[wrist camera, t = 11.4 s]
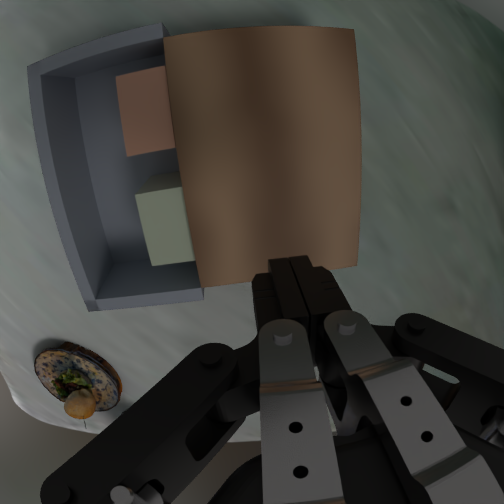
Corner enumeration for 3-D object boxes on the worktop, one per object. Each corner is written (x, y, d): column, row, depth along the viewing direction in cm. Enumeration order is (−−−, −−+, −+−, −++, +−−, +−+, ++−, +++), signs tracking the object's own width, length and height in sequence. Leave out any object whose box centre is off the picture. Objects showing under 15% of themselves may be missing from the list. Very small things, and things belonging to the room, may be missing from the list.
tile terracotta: (165, 65, 15) (115, 76, 15) (175, 147, 17) (127, 156, 17) (176, 73, 19) (136, 81, 19) (184, 138, 21) (144, 145, 21)
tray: (175, 41, 18) (161, 22, 13) (205, 258, 27) (203, 299, 21) (66, 70, 18) (27, 66, 13) (109, 271, 26) (88, 311, 21)
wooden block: (322, 44, 20) (353, 29, 14) (330, 232, 27) (356, 265, 22) (176, 53, 19) (163, 37, 14) (203, 248, 26) (201, 287, 21)
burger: (56, 323, 29) (31, 371, 22) (140, 378, 33) (131, 430, 27) (28, 368, 32) (9, 409, 25) (98, 412, 36) (89, 455, 30)
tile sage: (182, 186, 18) (134, 194, 18) (195, 260, 20) (152, 266, 20) (189, 169, 23) (150, 176, 22) (198, 230, 25) (162, 235, 25)
